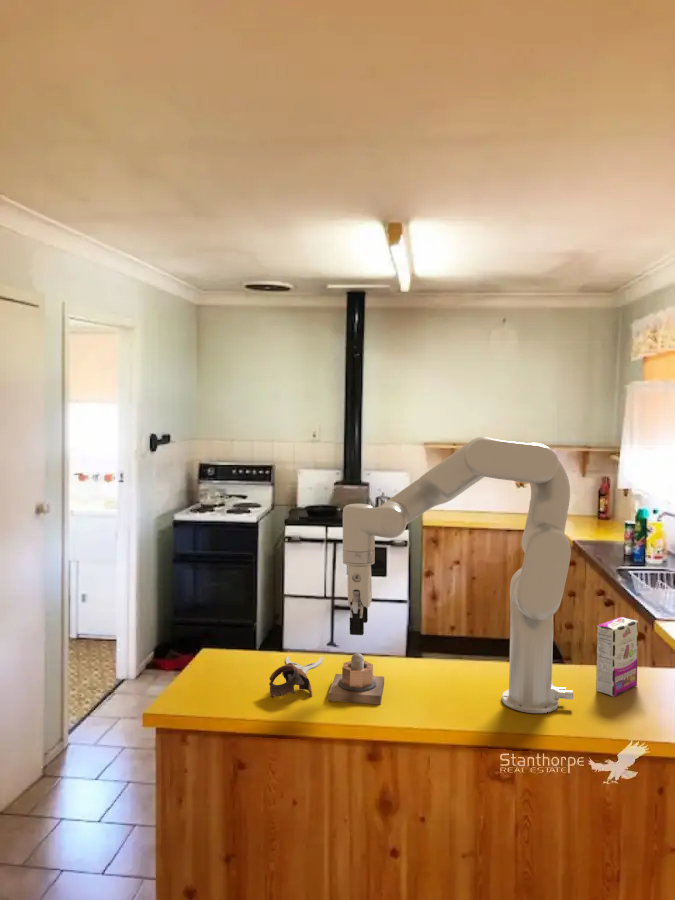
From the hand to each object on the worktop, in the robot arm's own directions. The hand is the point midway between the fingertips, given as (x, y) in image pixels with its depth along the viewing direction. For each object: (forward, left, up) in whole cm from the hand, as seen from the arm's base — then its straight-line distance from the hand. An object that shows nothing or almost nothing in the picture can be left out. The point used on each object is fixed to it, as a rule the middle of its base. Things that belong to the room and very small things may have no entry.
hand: (358, 628), depth 171 cm
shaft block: (0, 0, -16) cm, 16 cm away
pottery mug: (+16, +3, -16) cm, 23 cm away
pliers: (+16, -14, -16) cm, 27 cm away
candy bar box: (-62, -12, -16) cm, 65 cm away
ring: (0, 0, -13) cm, 13 cm away
